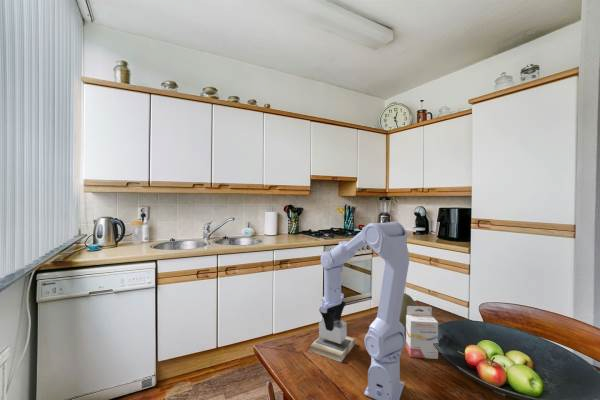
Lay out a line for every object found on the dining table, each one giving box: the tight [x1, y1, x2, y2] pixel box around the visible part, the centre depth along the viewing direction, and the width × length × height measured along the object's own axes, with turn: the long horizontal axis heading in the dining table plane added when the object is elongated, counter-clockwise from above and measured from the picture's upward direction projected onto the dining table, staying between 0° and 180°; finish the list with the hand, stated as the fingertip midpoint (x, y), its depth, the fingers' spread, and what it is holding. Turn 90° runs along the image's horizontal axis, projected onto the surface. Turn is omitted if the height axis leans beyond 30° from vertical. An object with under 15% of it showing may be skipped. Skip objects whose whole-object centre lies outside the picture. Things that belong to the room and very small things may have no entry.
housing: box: [318, 318, 348, 344], centre depth 87 cm, size 5×8×6 cm, turn 57°
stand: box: [309, 335, 356, 363], centre depth 87 cm, size 12×11×2 cm
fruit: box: [399, 292, 419, 336], centre depth 97 cm, size 11×11×15 cm
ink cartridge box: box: [405, 305, 439, 360], centre depth 83 cm, size 9×5×15 cm, turn 84°
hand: (332, 326), depth 87 cm, fingers closed on housing, 5 cm apart
